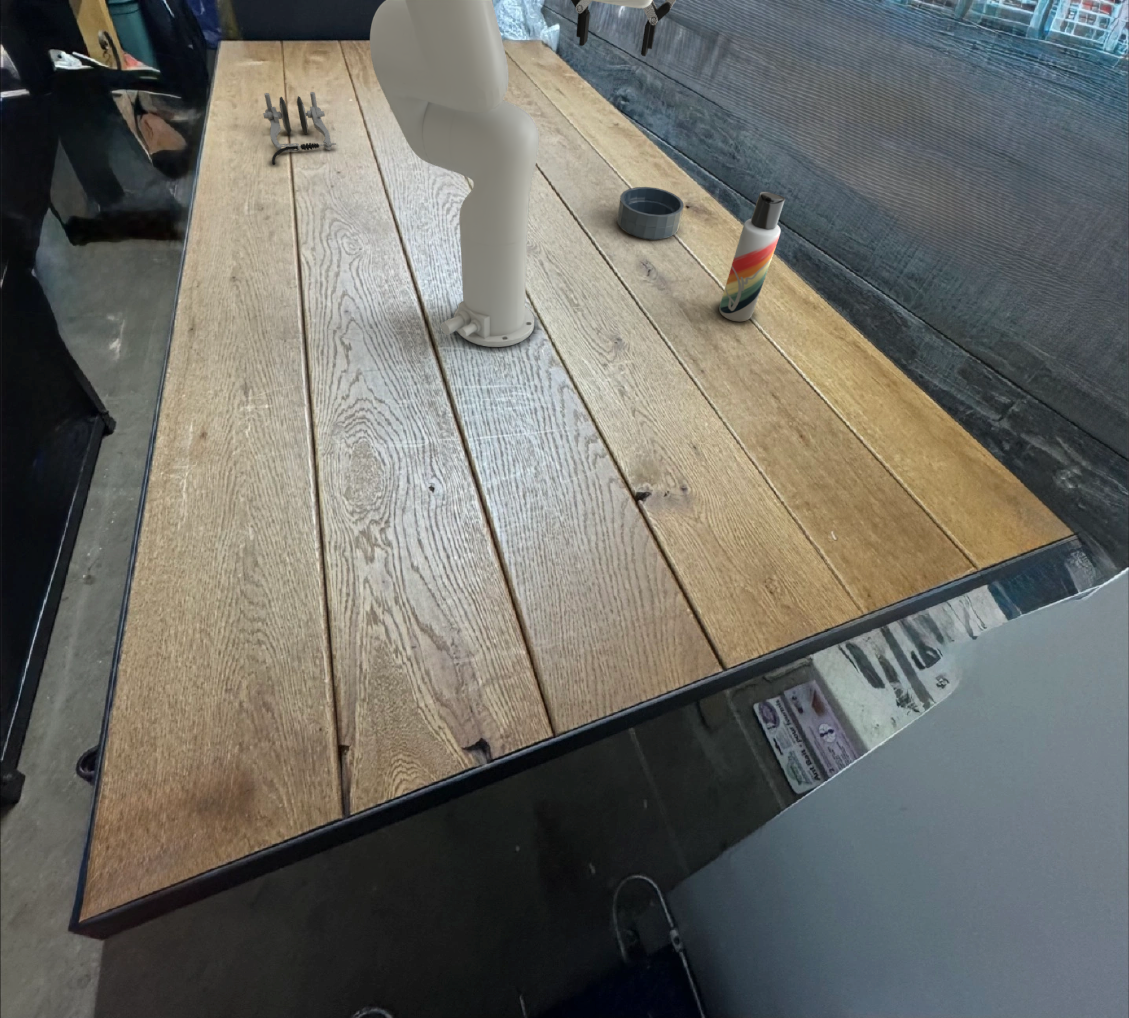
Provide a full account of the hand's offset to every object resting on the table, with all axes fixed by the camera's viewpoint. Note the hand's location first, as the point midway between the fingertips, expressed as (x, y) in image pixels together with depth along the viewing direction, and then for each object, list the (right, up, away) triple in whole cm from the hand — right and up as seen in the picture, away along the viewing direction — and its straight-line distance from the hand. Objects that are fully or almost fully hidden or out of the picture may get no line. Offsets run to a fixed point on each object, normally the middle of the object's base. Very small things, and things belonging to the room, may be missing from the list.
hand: (613, 48), depth 100 cm
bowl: (+9, -15, +29) cm, 33 cm away
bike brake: (-64, +8, +41) cm, 77 cm away
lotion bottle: (+22, -38, +11) cm, 45 cm away
